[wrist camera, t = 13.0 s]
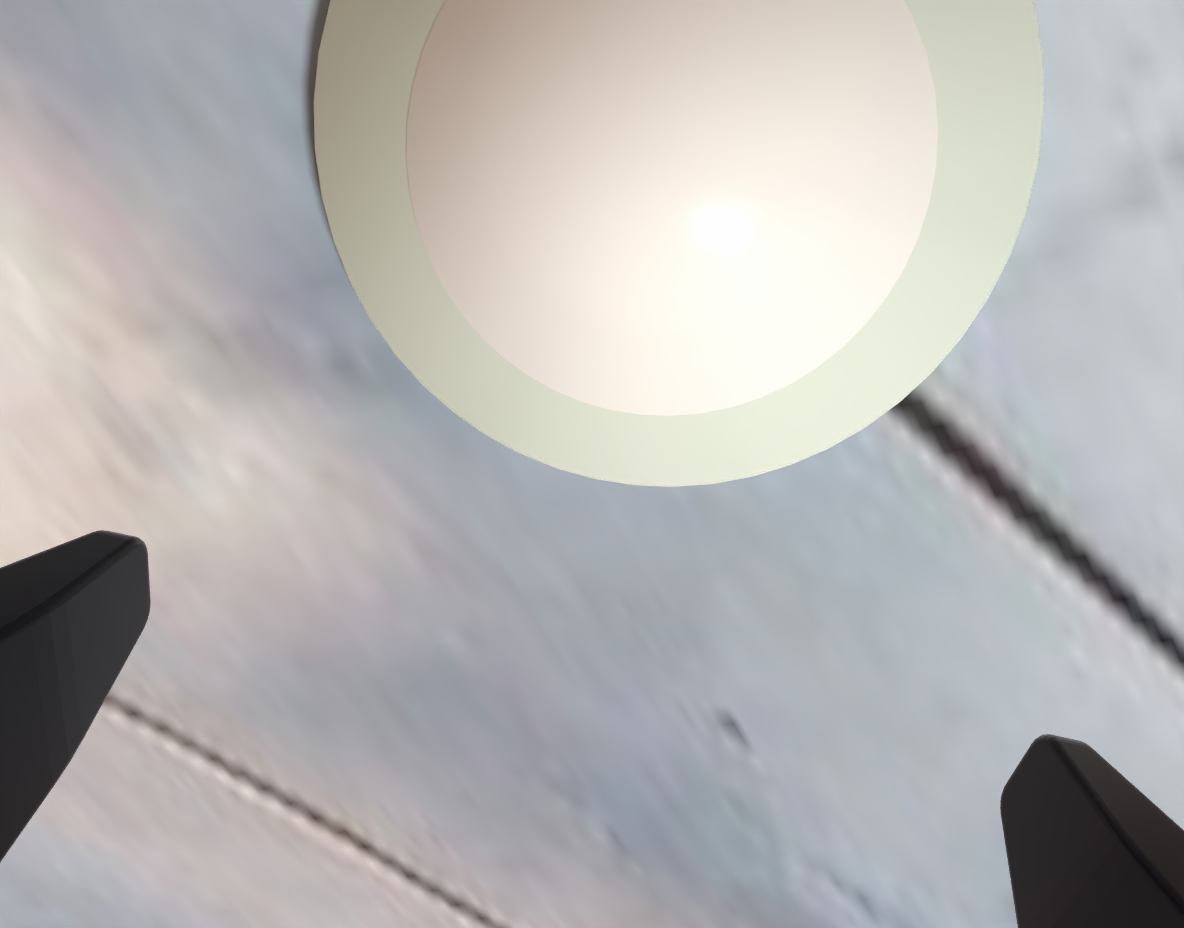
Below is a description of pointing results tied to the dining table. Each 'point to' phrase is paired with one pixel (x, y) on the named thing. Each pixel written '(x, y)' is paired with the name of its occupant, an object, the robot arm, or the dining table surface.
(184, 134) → the dining table surface
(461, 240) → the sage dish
